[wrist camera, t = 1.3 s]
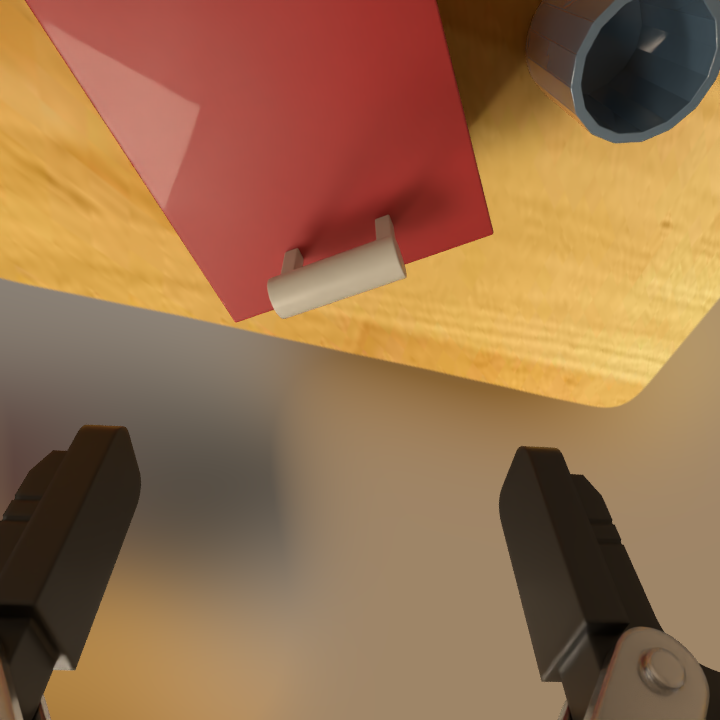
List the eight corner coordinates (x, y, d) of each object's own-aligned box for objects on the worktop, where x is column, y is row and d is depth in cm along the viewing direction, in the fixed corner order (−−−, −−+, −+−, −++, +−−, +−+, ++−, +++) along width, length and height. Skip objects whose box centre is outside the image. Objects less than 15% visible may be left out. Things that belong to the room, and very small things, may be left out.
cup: (603, -68, 26) (681, -68, 20) (667, 32, 29) (754, 59, 22) (501, 42, 29) (542, 73, 23) (568, 124, 32) (621, 171, 25)
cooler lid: (490, 227, 25) (517, 283, 21) (237, 314, 28) (218, 379, 24) (369, -262, 15) (375, -330, 11) (3, -50, 18) (-95, -45, 14)
